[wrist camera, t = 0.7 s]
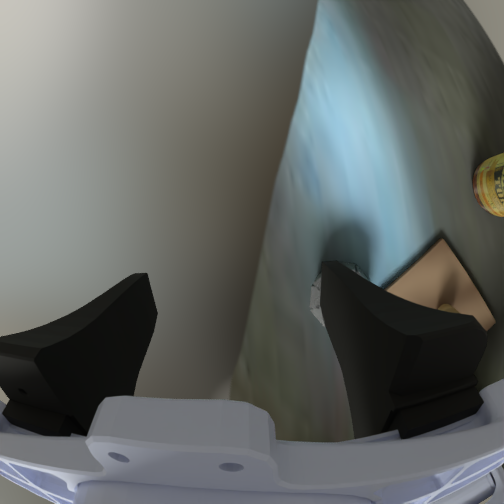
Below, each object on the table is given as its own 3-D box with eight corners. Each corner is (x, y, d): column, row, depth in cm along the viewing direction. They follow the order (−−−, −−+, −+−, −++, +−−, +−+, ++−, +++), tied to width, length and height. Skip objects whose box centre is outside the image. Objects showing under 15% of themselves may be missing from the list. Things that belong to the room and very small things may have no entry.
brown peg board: (492, 319, 25) (515, 336, 20) (434, 370, 28) (447, 396, 22) (440, 238, 27) (459, 240, 21) (377, 294, 29) (384, 310, 24)
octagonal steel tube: (378, 291, 29) (383, 303, 25) (338, 324, 31) (336, 340, 26) (345, 251, 30) (345, 256, 25) (305, 285, 32) (298, 296, 27)
